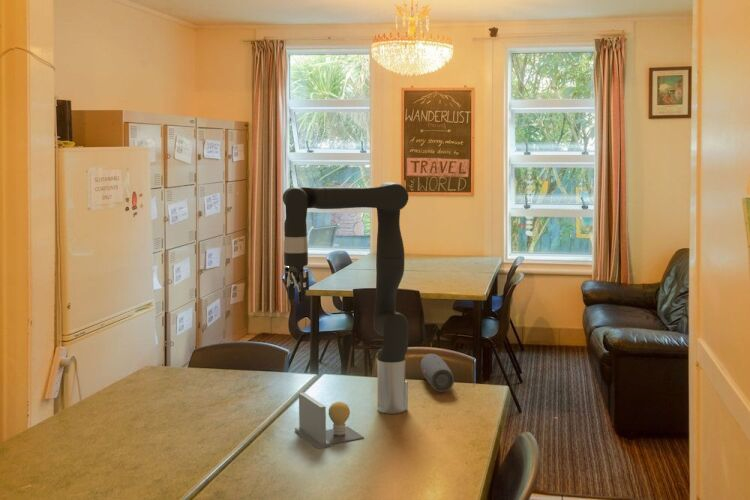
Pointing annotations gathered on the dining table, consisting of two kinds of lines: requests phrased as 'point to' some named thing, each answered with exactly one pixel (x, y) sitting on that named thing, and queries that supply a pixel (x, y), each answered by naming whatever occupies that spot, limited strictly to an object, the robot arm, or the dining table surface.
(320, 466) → the dining table surface
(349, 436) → the mat
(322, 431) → the screen
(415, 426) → the dining table surface
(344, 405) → the yellow light bulb
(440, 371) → the bluetooth speaker
